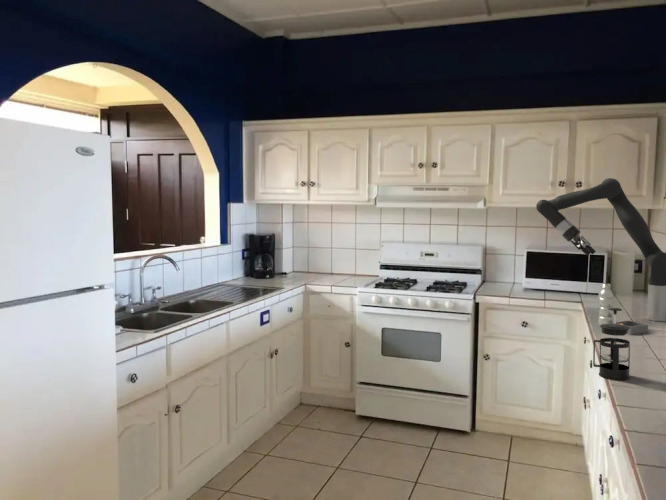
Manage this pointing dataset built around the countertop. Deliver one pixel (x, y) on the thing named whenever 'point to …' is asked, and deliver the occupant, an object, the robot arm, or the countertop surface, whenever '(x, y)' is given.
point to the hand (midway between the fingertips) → (591, 253)
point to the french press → (613, 351)
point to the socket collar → (634, 327)
